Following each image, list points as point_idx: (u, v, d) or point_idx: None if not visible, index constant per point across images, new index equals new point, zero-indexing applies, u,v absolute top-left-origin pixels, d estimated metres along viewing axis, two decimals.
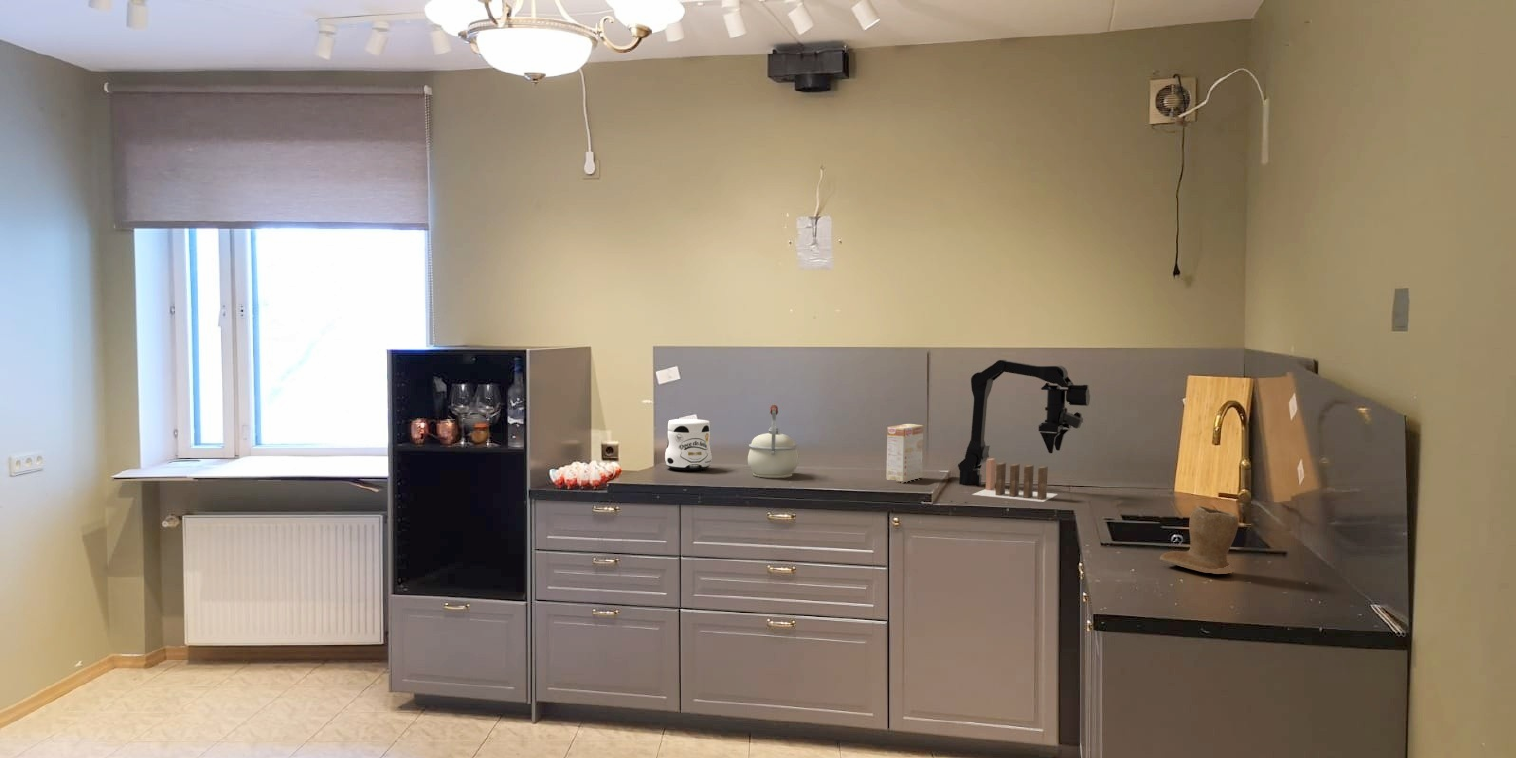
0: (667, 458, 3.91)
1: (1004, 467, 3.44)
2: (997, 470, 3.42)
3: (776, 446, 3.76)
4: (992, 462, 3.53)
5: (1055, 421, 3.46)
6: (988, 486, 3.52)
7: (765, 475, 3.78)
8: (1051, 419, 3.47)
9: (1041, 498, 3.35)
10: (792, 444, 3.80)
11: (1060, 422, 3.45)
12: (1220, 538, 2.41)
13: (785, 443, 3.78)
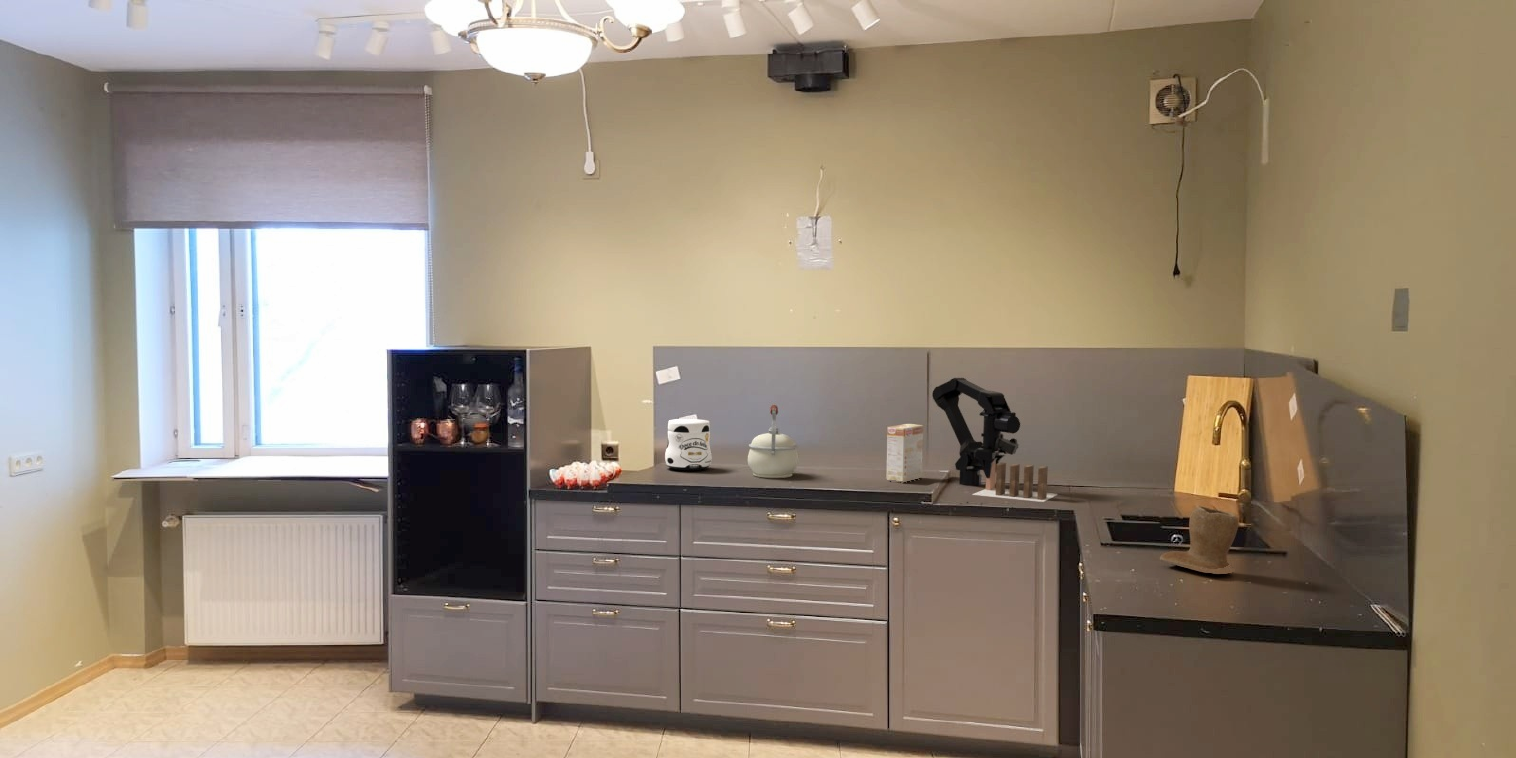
0: (667, 458, 3.91)
1: (1004, 467, 3.44)
2: (997, 470, 3.42)
3: (776, 446, 3.76)
4: None
5: (991, 447, 3.51)
6: (988, 486, 3.52)
7: (765, 475, 3.78)
8: (986, 445, 3.52)
9: (1041, 498, 3.35)
10: (792, 444, 3.80)
11: (995, 448, 3.50)
12: (1220, 538, 2.41)
13: (785, 443, 3.78)
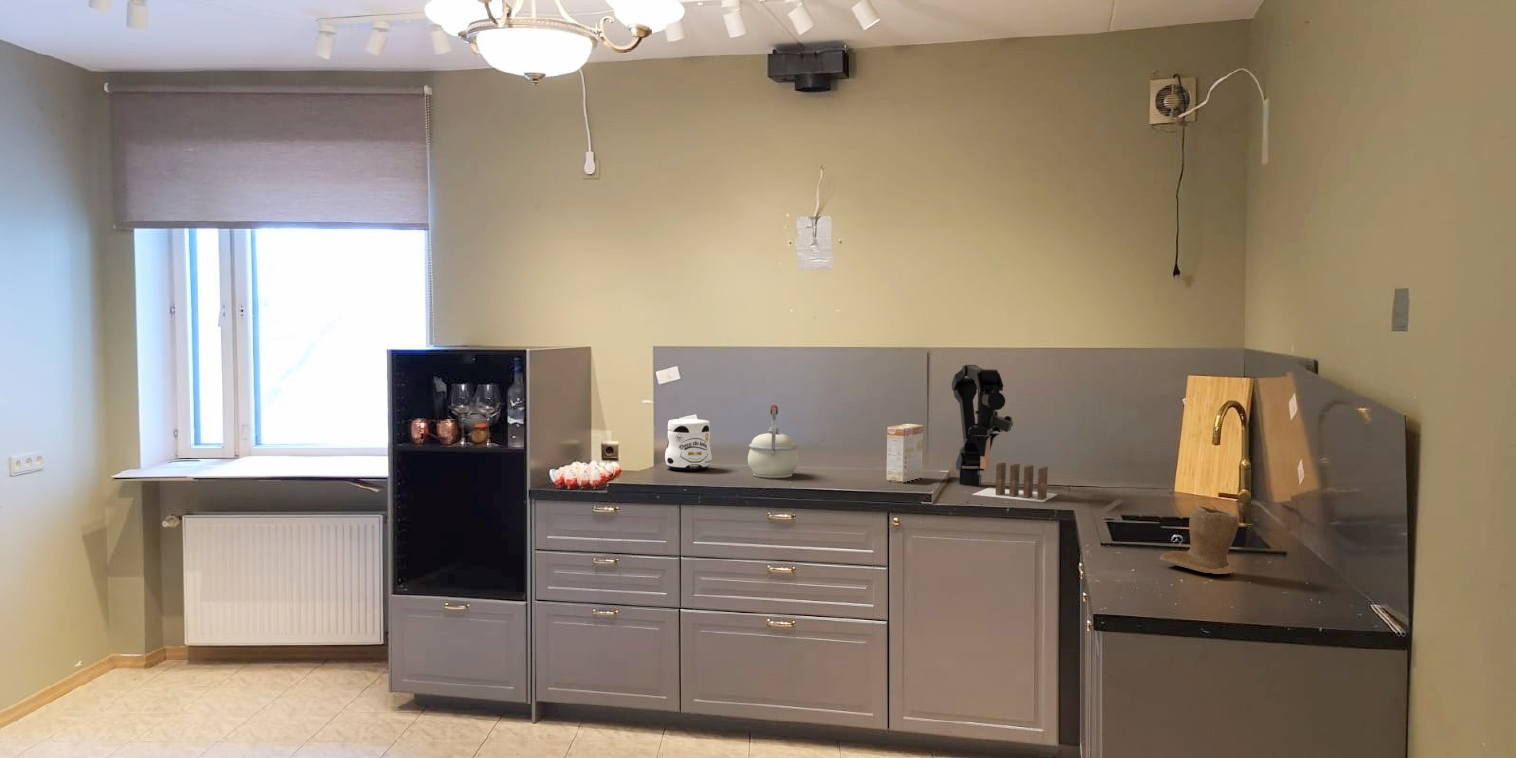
0: (667, 458, 3.91)
1: (1004, 467, 3.44)
2: (997, 470, 3.42)
3: (776, 446, 3.76)
4: (987, 440, 3.46)
5: (985, 425, 3.44)
6: (983, 465, 3.45)
7: (765, 475, 3.78)
8: (981, 422, 3.45)
9: (1041, 498, 3.35)
10: (792, 444, 3.80)
11: (990, 426, 3.43)
12: (1220, 538, 2.41)
13: (785, 443, 3.78)
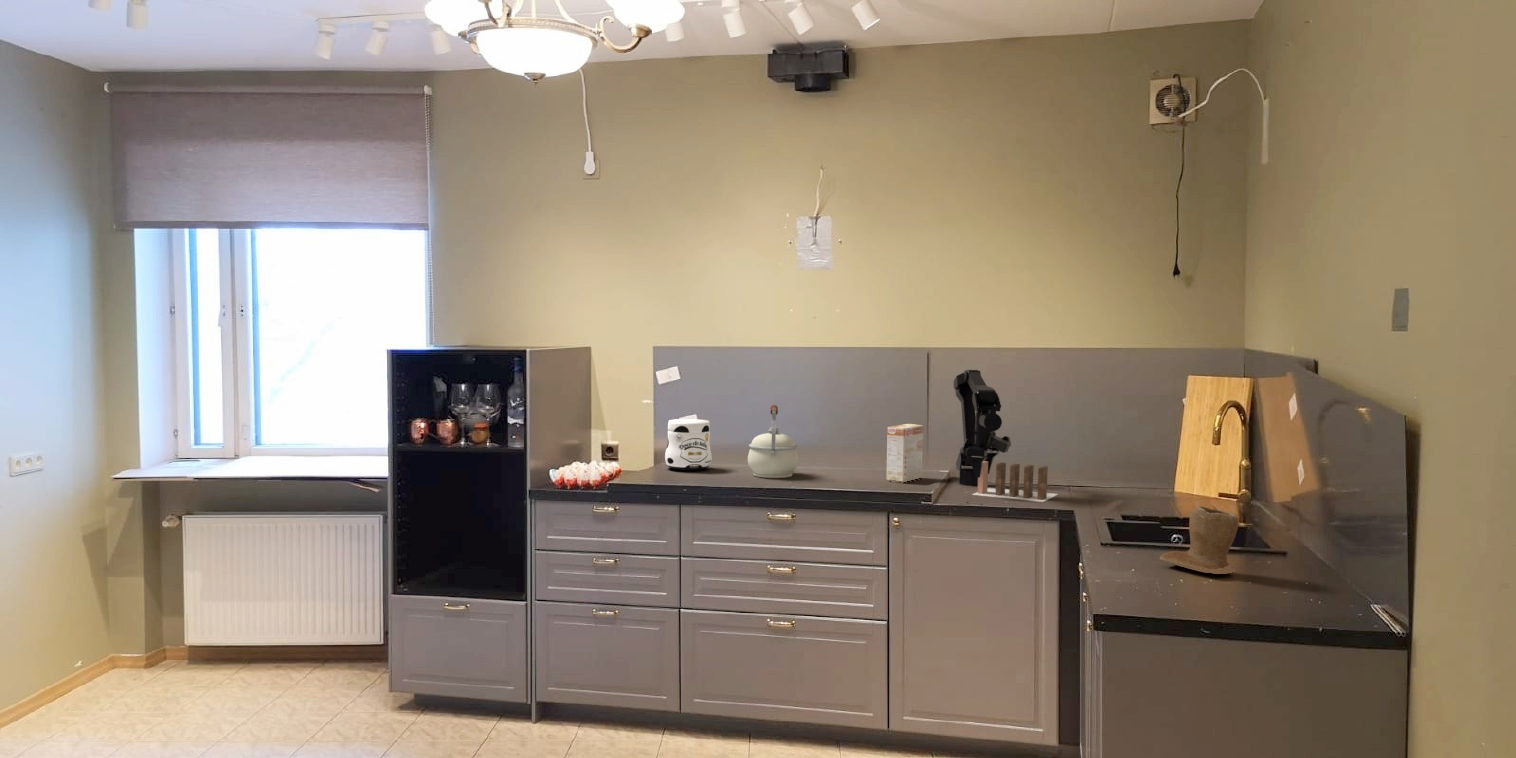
0: (667, 458, 3.91)
1: (1004, 467, 3.44)
2: (997, 470, 3.42)
3: (776, 446, 3.76)
4: (984, 465, 3.46)
5: (983, 445, 3.44)
6: (980, 490, 3.45)
7: (765, 475, 3.78)
8: (978, 443, 3.44)
9: (1041, 498, 3.35)
10: (792, 444, 3.80)
11: (988, 446, 3.43)
12: (1220, 538, 2.41)
13: (785, 443, 3.78)
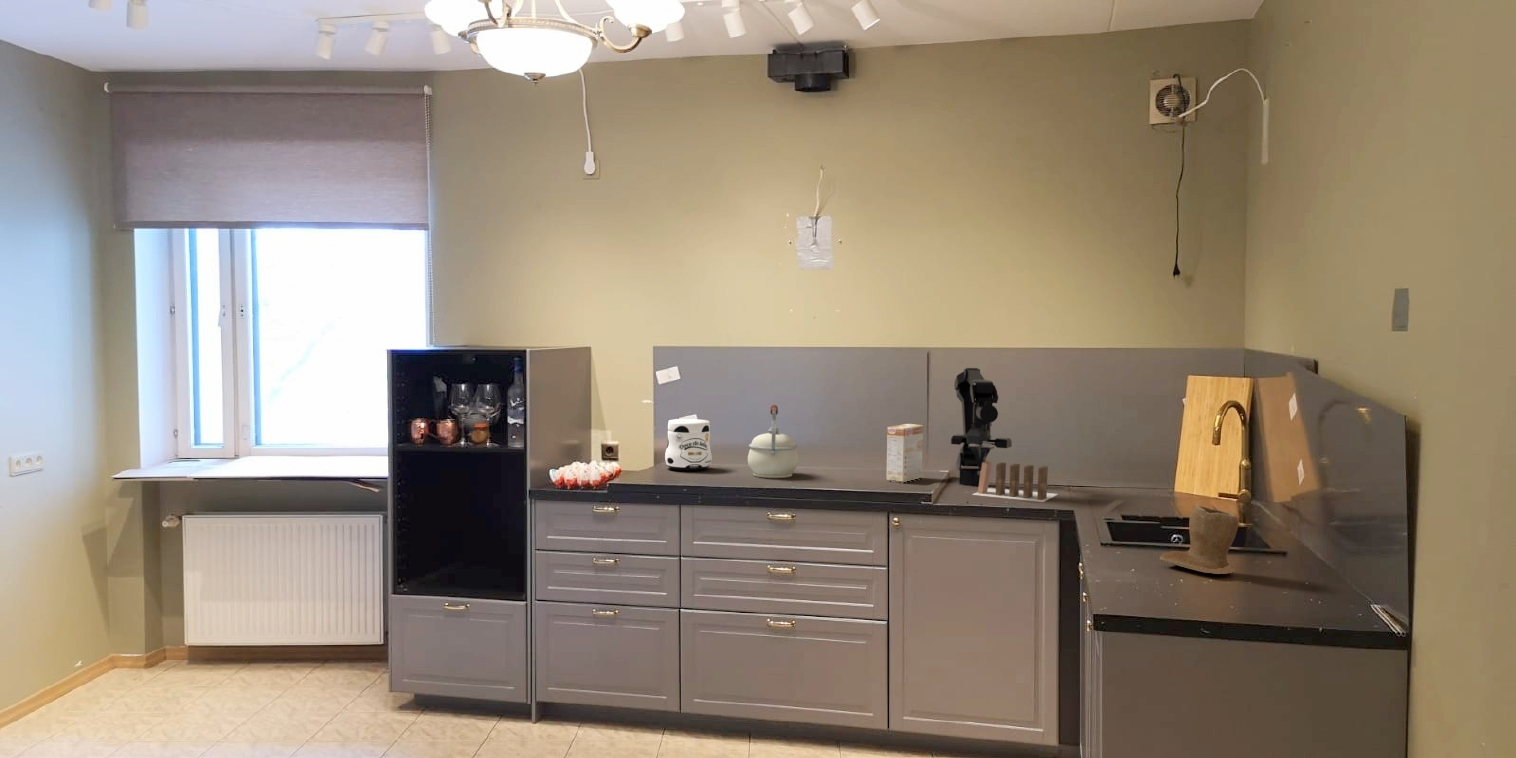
0: (667, 458, 3.91)
1: (1004, 467, 3.44)
2: (997, 470, 3.42)
3: (776, 446, 3.76)
4: (988, 465, 3.45)
5: None
6: (981, 489, 3.45)
7: (765, 475, 3.78)
8: None
9: (1041, 498, 3.35)
10: (792, 444, 3.80)
11: None
12: (1220, 538, 2.41)
13: (785, 443, 3.78)
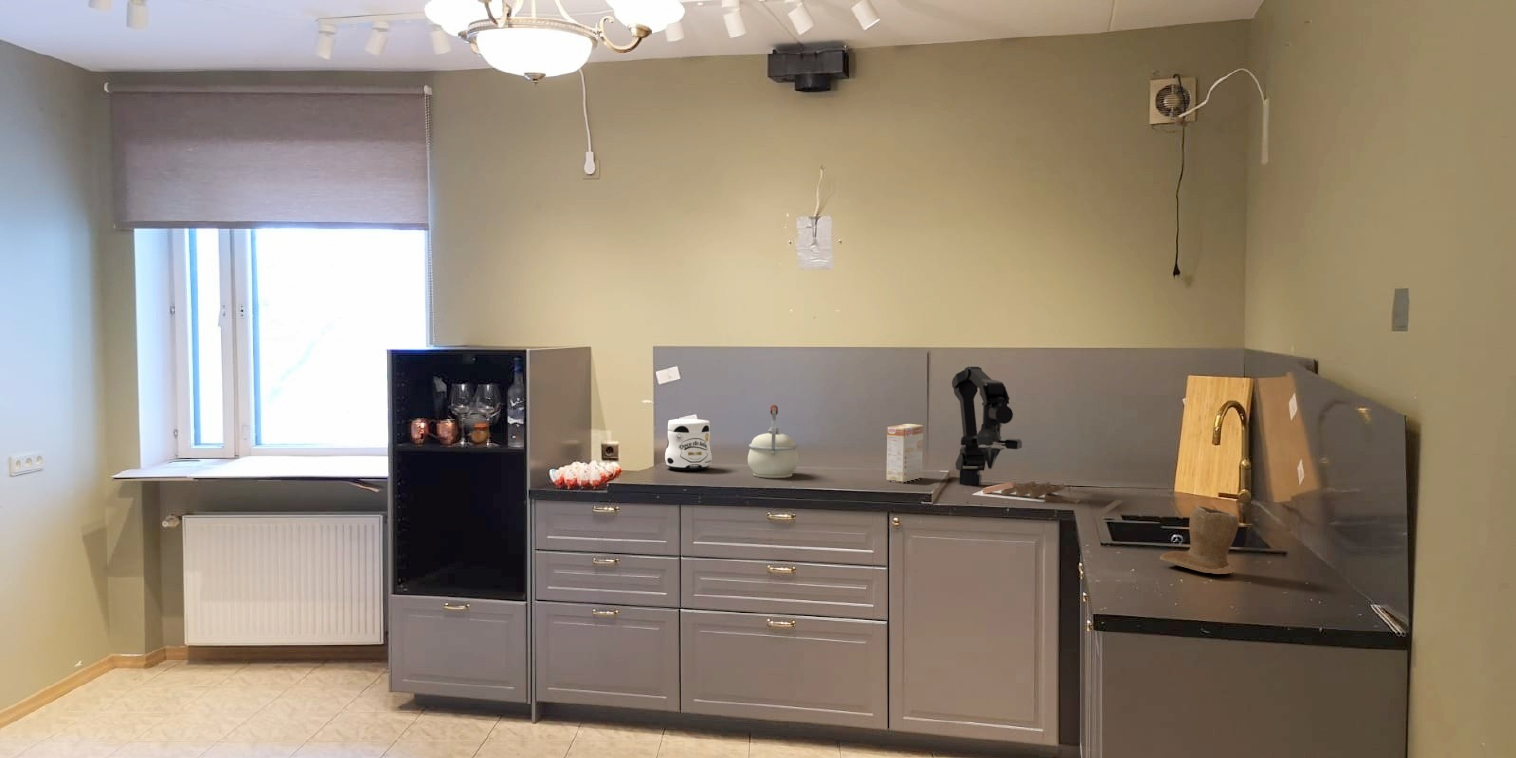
0: (667, 458, 3.91)
1: None
2: (1024, 485, 3.38)
3: (776, 446, 3.76)
4: None
5: None
6: (986, 491, 3.44)
7: (765, 475, 3.78)
8: None
9: (1045, 499, 3.35)
10: (792, 444, 3.80)
11: None
12: (1220, 538, 2.41)
13: (785, 443, 3.78)
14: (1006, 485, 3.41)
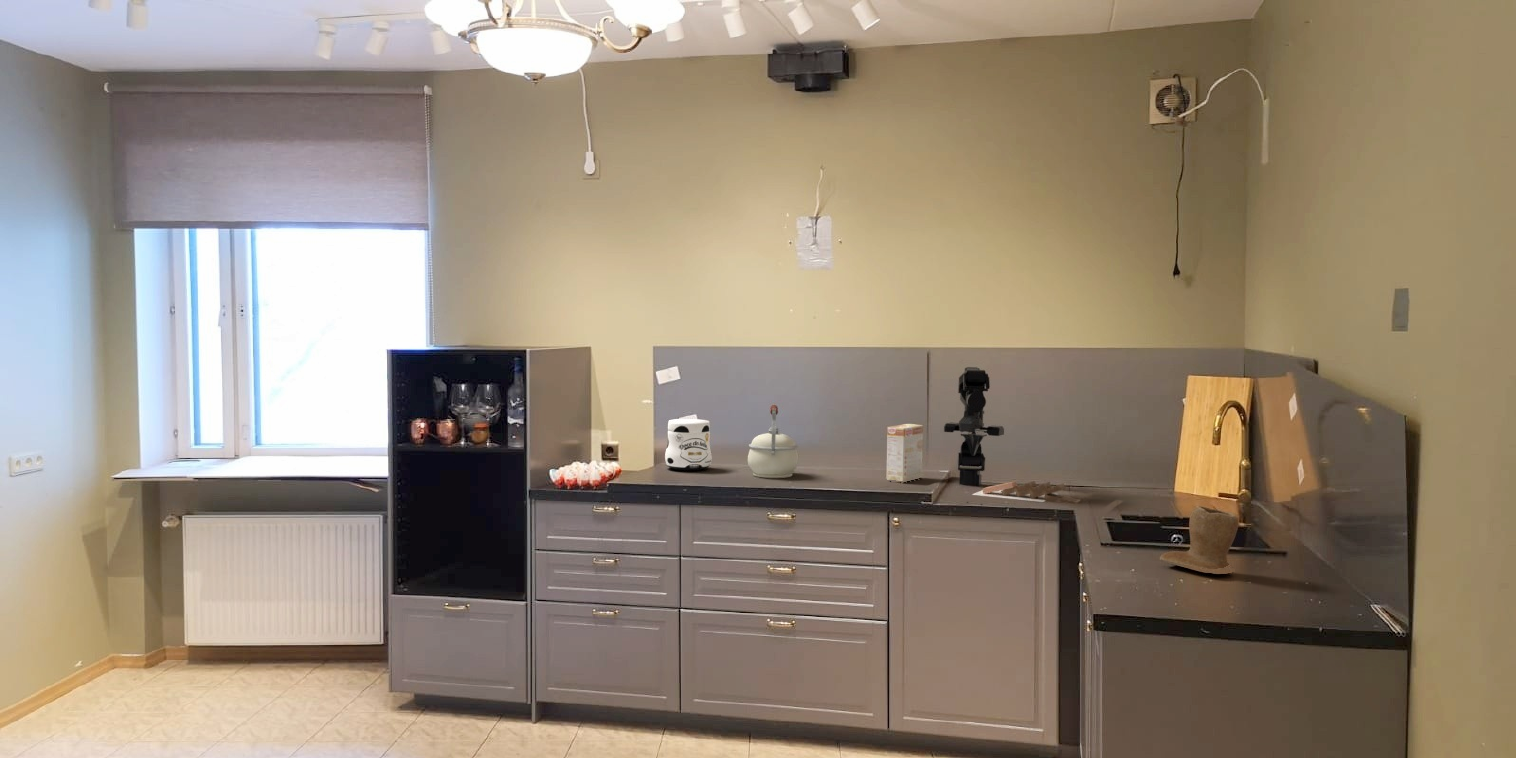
0: (667, 458, 3.91)
1: None
2: (1024, 485, 3.38)
3: (776, 446, 3.76)
4: None
5: None
6: (986, 491, 3.44)
7: (765, 475, 3.78)
8: None
9: (1045, 499, 3.35)
10: (792, 444, 3.80)
11: None
12: (1220, 538, 2.41)
13: (785, 443, 3.78)
14: (1006, 485, 3.41)
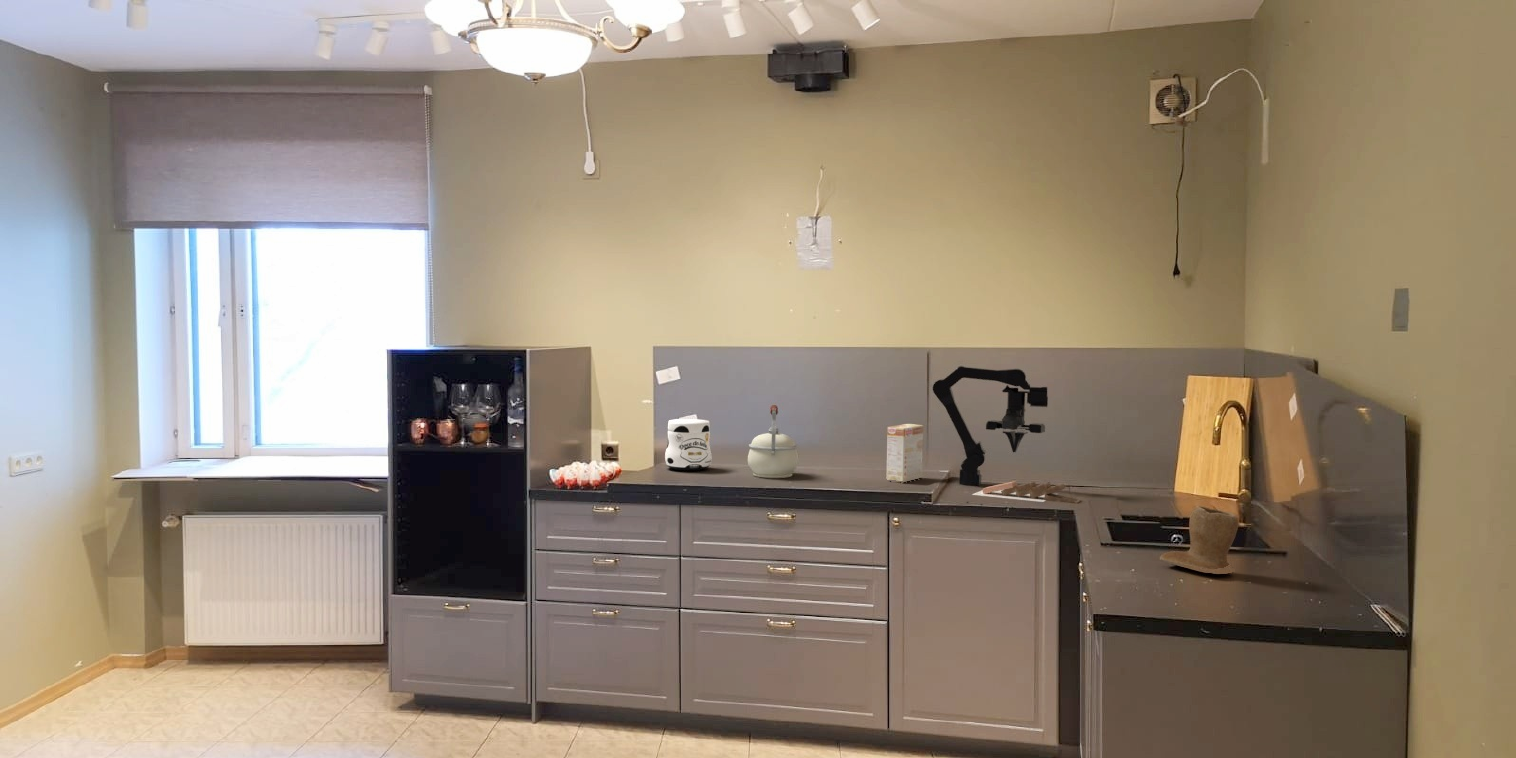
0: (667, 458, 3.91)
1: None
2: (1024, 485, 3.38)
3: (776, 446, 3.76)
4: None
5: None
6: (986, 491, 3.44)
7: (765, 475, 3.78)
8: None
9: (1045, 499, 3.35)
10: (792, 444, 3.80)
11: None
12: (1220, 538, 2.41)
13: (785, 443, 3.78)
14: (1006, 485, 3.41)
